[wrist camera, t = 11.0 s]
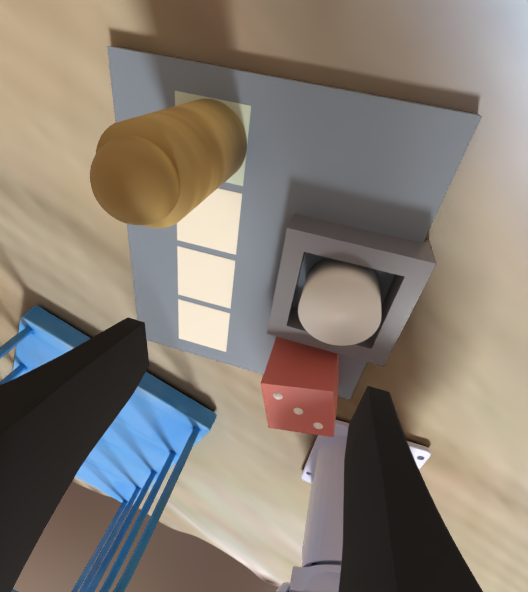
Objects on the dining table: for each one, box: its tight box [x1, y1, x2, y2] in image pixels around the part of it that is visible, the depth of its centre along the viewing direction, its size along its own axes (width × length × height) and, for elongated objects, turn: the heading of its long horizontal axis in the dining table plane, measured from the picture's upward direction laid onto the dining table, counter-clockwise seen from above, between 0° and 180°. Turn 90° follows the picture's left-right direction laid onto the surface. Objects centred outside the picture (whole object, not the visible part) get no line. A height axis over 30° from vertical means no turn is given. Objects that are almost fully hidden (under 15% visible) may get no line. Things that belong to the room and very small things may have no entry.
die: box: [261, 337, 339, 437], centre depth 21 cm, size 4×4×4 cm
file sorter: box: [0, 306, 217, 592], centre depth 30 cm, size 25×17×15 cm
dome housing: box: [267, 214, 436, 367], centre depth 19 cm, size 7×7×2 cm
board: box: [107, 46, 482, 400], centre depth 20 cm, size 18×16×1 cm
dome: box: [298, 258, 381, 346], centre depth 18 cm, size 4×4×2 cm
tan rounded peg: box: [90, 99, 247, 228], centre depth 13 cm, size 4×4×8 cm
